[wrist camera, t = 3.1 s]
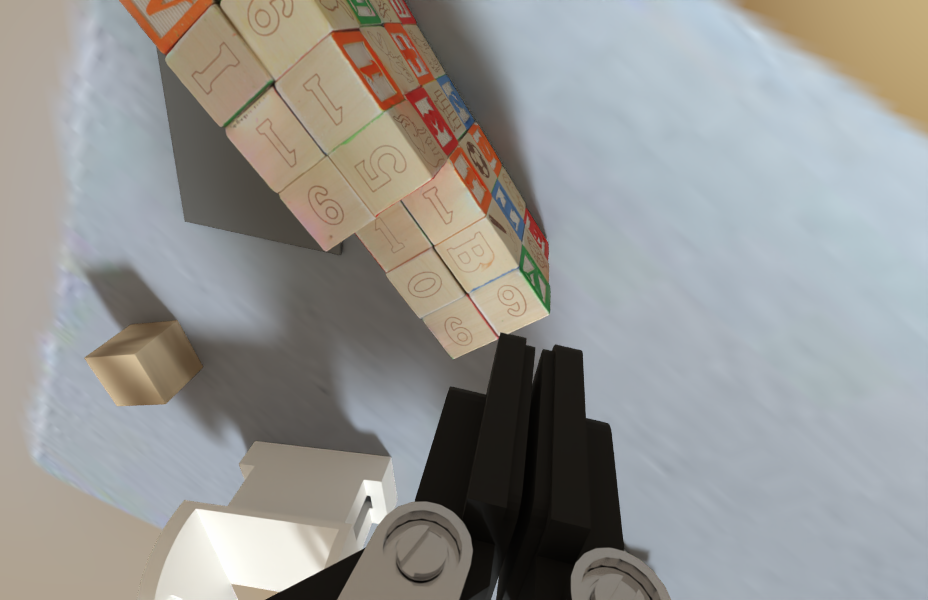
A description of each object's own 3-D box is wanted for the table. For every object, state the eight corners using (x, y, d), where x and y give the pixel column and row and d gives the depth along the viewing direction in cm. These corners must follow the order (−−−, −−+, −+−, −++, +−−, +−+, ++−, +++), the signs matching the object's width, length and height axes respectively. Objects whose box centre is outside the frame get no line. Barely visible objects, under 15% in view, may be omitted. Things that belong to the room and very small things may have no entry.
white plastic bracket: (389, 435, 44) (296, 658, 29) (403, 526, 51) (333, 747, 36) (246, 420, 47) (92, 617, 32) (277, 508, 53) (160, 708, 38)
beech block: (178, 319, 42) (134, 354, 38) (203, 366, 44) (165, 404, 40) (131, 324, 43) (84, 357, 39) (158, 369, 46) (117, 406, 41)
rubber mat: (347, -70, 26) (345, -71, 26) (341, 253, 36) (340, 255, 35) (135, -105, 27) (131, -106, 26) (187, 219, 37) (184, 221, 36)
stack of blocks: (552, 242, 32) (552, 354, 22) (473, 283, 35) (439, 400, 24) (348, -95, 25) (200, -171, 15) (266, -14, 27) (89, -28, 17)
